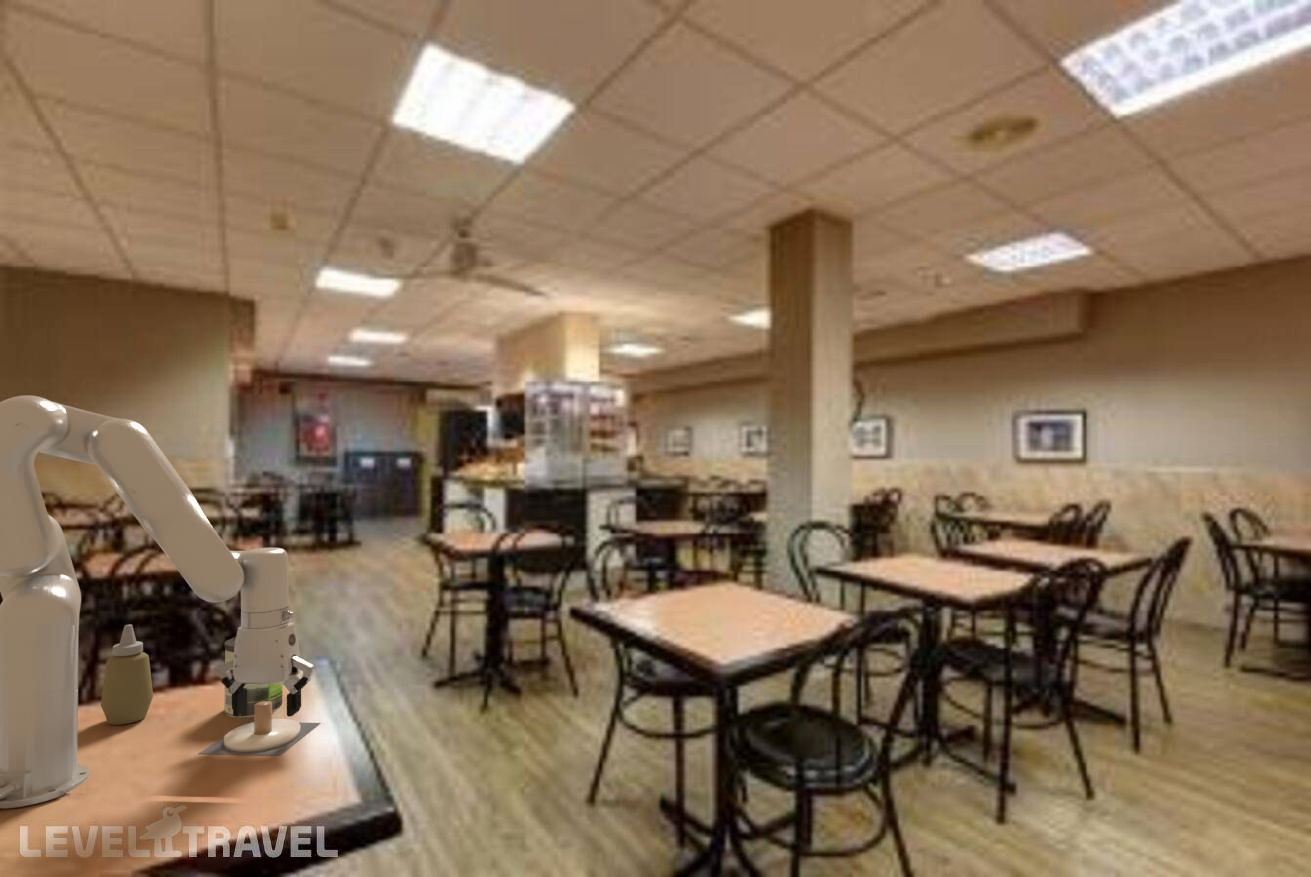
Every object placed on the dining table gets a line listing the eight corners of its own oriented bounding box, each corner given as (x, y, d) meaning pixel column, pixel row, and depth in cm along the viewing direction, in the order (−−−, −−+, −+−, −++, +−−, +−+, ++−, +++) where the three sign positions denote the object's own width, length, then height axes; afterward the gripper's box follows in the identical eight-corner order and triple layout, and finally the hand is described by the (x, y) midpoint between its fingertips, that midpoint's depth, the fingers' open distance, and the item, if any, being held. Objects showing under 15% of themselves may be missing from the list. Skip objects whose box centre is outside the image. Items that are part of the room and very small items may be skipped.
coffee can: (293, 701, 148) (294, 632, 148) (264, 721, 137) (265, 647, 137) (243, 700, 148) (244, 632, 148) (211, 720, 137) (212, 646, 138)
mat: (279, 759, 121) (279, 755, 121) (198, 757, 121) (198, 753, 121) (320, 726, 135) (321, 723, 135) (247, 724, 135) (247, 721, 135)
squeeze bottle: (160, 717, 138) (161, 624, 138) (111, 731, 132) (112, 633, 132) (141, 708, 143) (142, 618, 143) (92, 722, 136) (94, 626, 136)
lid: (277, 752, 122) (277, 717, 122) (208, 751, 122) (208, 716, 122) (312, 724, 134) (313, 692, 134) (249, 723, 134) (249, 691, 134)
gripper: (323, 612, 132) (324, 705, 132) (230, 612, 132) (232, 705, 133) (302, 623, 124) (303, 722, 125) (204, 623, 125) (205, 722, 125)
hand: (266, 713), depth 129 cm, fingers open, 9 cm apart
